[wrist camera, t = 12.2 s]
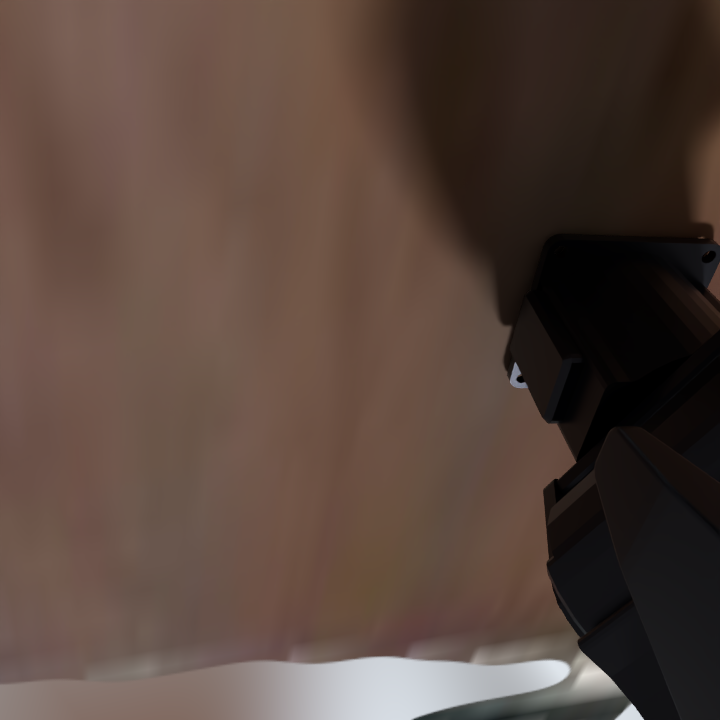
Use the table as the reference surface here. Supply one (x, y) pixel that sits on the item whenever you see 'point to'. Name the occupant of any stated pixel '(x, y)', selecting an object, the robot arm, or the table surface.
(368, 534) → the table surface
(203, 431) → the table surface
